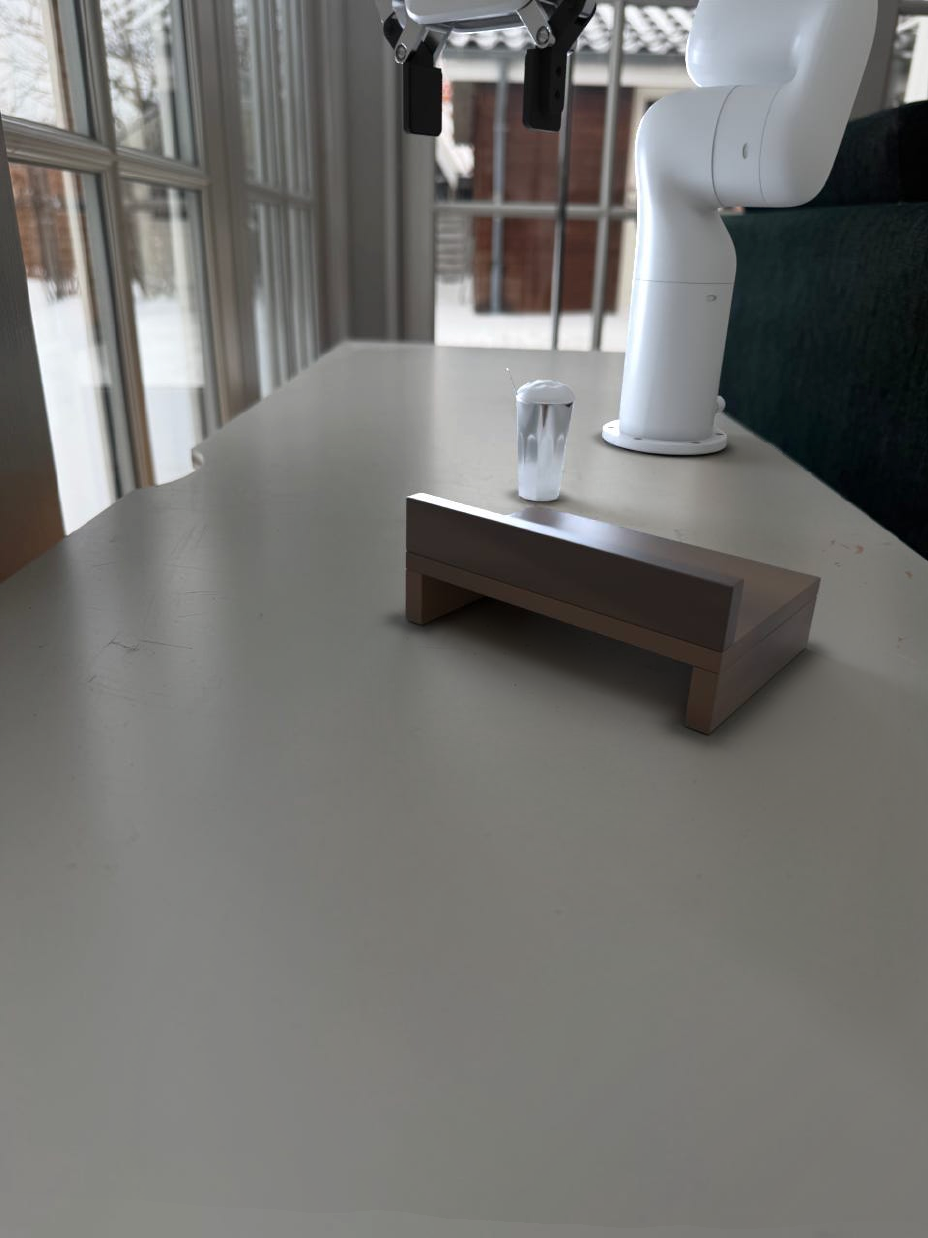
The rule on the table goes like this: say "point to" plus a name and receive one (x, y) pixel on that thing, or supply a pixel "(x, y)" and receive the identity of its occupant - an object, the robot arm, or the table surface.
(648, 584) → the shelf
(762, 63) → the robot arm
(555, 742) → the table surface
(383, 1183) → the table surface
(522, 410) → the milkshake
